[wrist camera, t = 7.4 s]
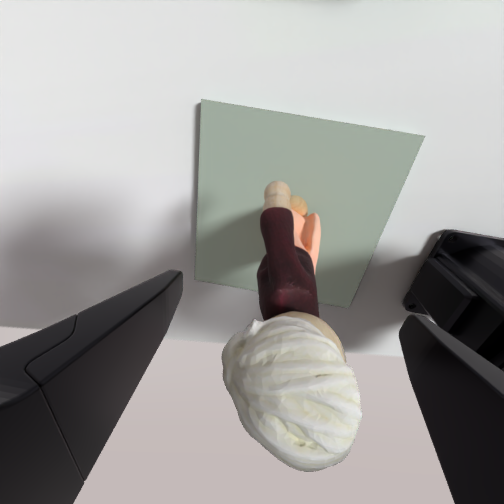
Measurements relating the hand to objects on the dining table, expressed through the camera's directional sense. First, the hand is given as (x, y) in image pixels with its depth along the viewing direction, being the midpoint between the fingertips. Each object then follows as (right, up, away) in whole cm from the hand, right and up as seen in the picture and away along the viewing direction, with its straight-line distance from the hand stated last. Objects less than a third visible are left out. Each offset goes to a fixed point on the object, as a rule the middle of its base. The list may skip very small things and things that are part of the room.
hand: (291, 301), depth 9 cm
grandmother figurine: (+1, +4, +7) cm, 8 cm away
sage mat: (+1, +4, +8) cm, 9 cm away
